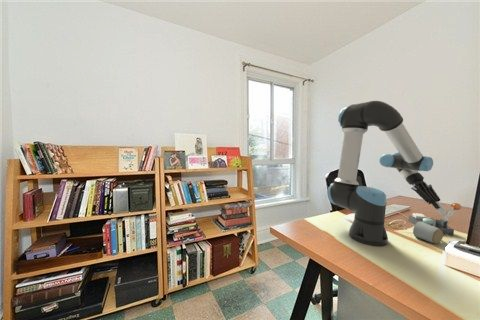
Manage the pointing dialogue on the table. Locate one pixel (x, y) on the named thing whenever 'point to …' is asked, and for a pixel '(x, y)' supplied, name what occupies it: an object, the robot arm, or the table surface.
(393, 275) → the table surface
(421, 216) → the rocker
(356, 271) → the table surface
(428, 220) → the push button
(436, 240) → the grey cylinder
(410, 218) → the dark grey lumpy shape
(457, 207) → the toggle lever
